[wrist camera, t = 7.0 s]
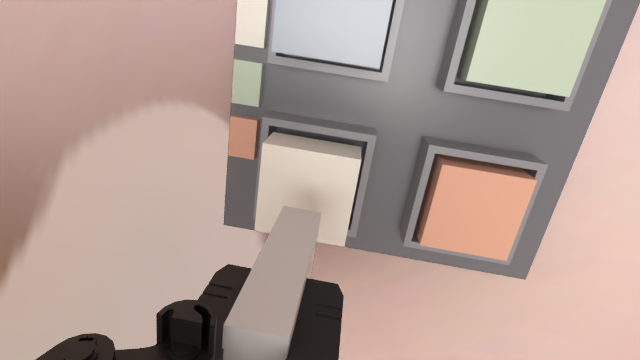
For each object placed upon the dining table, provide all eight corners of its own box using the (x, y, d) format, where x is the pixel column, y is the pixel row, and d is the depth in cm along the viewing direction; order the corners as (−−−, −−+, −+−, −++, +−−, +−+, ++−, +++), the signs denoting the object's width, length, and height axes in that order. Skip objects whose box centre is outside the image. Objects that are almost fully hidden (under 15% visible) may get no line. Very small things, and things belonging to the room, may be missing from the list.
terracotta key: (414, 225, 23) (419, 245, 21) (433, 151, 21) (442, 164, 19) (491, 239, 23) (506, 260, 20) (518, 165, 21) (537, 180, 19)
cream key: (265, 211, 22) (254, 230, 19) (273, 131, 20) (262, 142, 18) (345, 225, 21) (344, 246, 19) (361, 146, 20) (361, 159, 18)
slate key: (281, 50, 18) (271, 51, 16) (293, -61, 17) (283, -77, 15) (376, 65, 18) (379, 68, 16) (398, -45, 17) (404, -59, 14)
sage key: (453, 76, 20) (466, 80, 17) (480, -25, 18) (498, -35, 16) (545, 91, 19) (569, 97, 17) (581, -10, 18) (613, -18, 15)
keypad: (228, 218, 26) (212, 239, 23) (250, -112, 19) (231, -139, 16) (519, 270, 25) (539, 299, 22) (650, -55, 18) (703, -74, 15)
